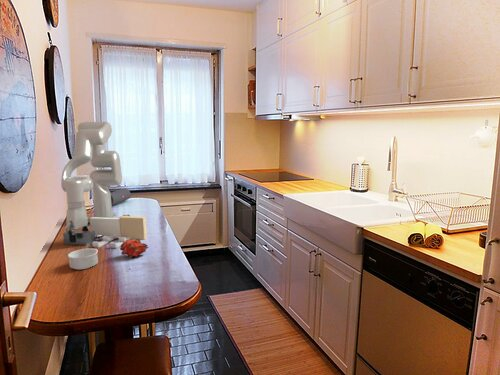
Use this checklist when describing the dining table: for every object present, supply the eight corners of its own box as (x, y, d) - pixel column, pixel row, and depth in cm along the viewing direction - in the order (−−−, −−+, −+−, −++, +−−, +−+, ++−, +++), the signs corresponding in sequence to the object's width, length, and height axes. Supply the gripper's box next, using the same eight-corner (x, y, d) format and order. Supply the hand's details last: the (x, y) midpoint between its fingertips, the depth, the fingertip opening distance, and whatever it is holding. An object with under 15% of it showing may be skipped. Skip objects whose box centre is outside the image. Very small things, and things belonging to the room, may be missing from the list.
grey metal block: (69, 242, 185) (67, 230, 184) (95, 242, 183) (94, 230, 182) (64, 244, 181) (63, 233, 180) (91, 245, 180) (90, 233, 178)
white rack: (94, 235, 195) (92, 215, 193) (147, 237, 189) (145, 216, 187) (72, 246, 178) (69, 223, 176) (129, 249, 172) (127, 226, 170)
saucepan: (103, 253, 168) (102, 241, 167) (97, 269, 149) (96, 256, 148) (75, 255, 165) (74, 243, 164) (65, 272, 146) (64, 259, 145)
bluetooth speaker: (114, 207, 261) (113, 193, 259) (103, 207, 263) (101, 193, 261) (132, 201, 283) (131, 188, 281) (121, 200, 285) (120, 187, 283)
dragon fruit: (118, 260, 162) (147, 261, 165) (117, 254, 155) (147, 256, 158) (121, 241, 166) (148, 243, 169) (120, 235, 159) (149, 236, 162)
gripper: (80, 201, 188) (84, 234, 191) (56, 208, 171) (60, 244, 174) (94, 201, 186) (97, 234, 189) (71, 209, 170) (74, 245, 172)
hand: (79, 239), depth 182 cm, fingers open, 9 cm apart
